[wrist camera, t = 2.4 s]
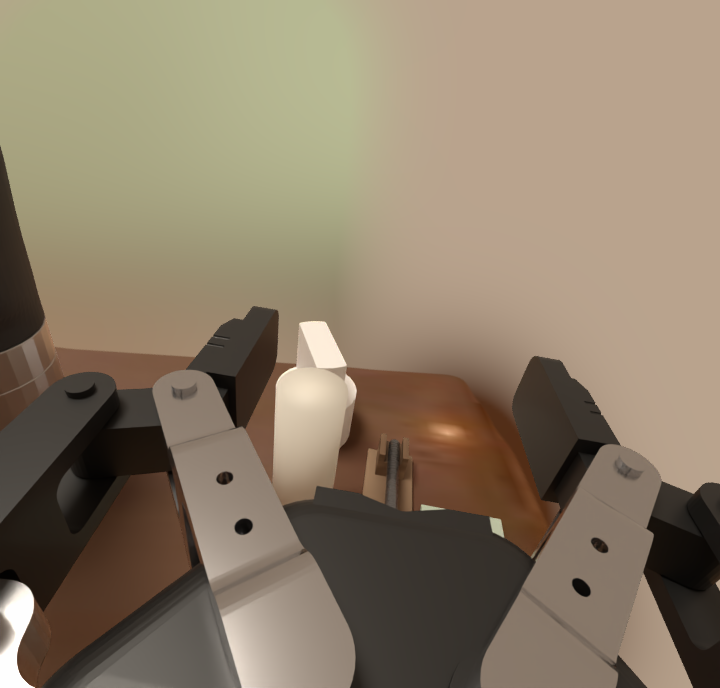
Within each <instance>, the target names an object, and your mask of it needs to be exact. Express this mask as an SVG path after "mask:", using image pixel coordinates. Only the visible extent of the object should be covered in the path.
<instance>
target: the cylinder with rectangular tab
mask: <svg viewBox="0 0 720 688" xmlns="http://www.w3.org/2000/svg"><path fill="white" fill-rule="evenodd" d="M300 368H320V369H324V370H328V371H330V372H332V373H334V374H336V375H338V376H339V377H340V378H342V380H343V381H344V382H345V383H346V385H347V388H348V398H347V404H346V410H345V416H344V423H343V429H342V435H341V441H340V447H341V446H342V445H343V444H344V443H345V442H346V441H347V439H348V437H349V433H350V427H351V421H352V416H353V410H354V404H355V398H356V387H355V384H354V383H353V381H352V380H351V378H350V377H348V376H347V375H346V368H347V365H346V363H345V361H344V359H343V357H342V355H341V352H340V350H339V348H338V347H337V344H336V342H335V341H334V338H333V336H332V334H331V332H330V330H329V328H328V326H327V324H326V322H317V321H316V322H315V321H312V322H302V323H299V336H298V351H297V364H296V367H294V368H291V369H289V370H288V371H286V372H285V373H283V374H282V375H281V377H282V376H283V375H285V374H286V373H288V372H290V371H292V370H295V369H300ZM281 377H280V378H281ZM280 378H279V379H280ZM279 379H278V381H279ZM278 381H277V383H278ZM276 387H277V384H276ZM275 408H276V400H275Z"/></svg>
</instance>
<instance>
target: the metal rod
mask: <svg viewBox="0 0 720 688" xmlns="http://www.w3.org/2000/svg"><path fill="white" fill-rule="evenodd" d="M399 456H400V443H399V441H397V440H395V439H393V440H391V441H390V442H389V446H388V460H387V474H386V488H385V503H384V504H386V505H388V506H390V507H393V508H395V509H398V483H399Z"/></svg>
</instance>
